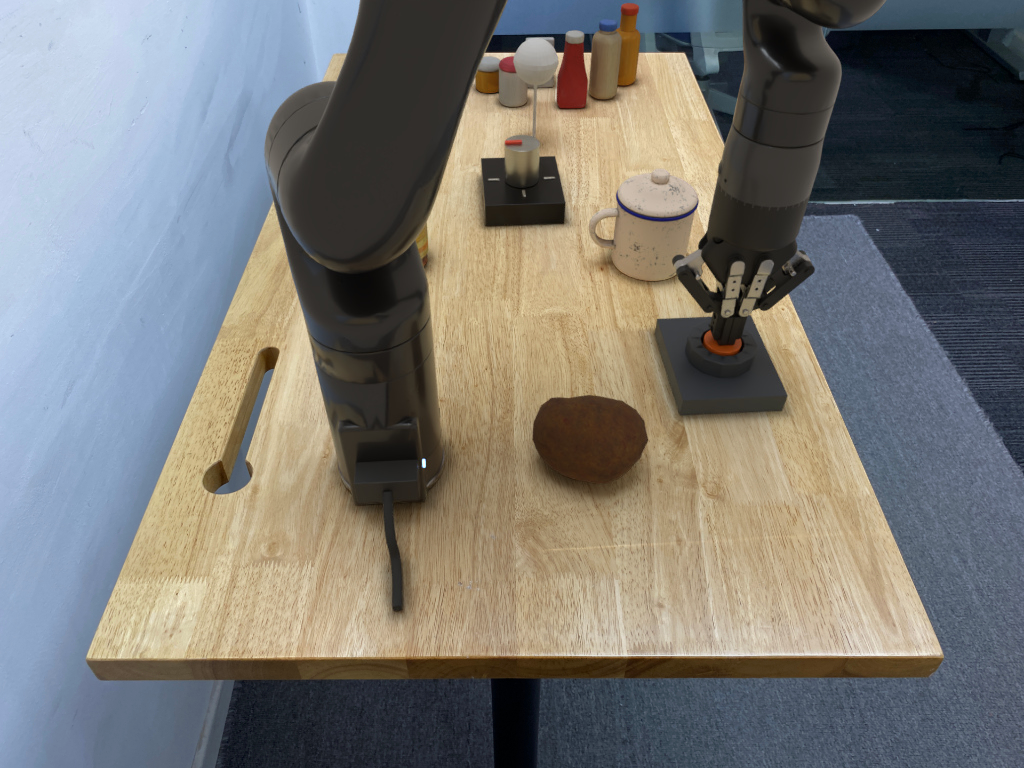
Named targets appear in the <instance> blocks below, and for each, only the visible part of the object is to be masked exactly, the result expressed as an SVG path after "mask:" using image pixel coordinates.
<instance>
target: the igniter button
mask: <svg viewBox="0 0 1024 768" xmlns="http://www.w3.org/2000/svg"><path fill="white" fill-rule="evenodd" d="M702 345H703V347H705V348H706V349H707V350H708V351H710V352H711V353H714V354H717V355H721V356H734V355H736V354H738V353H739V352H740V348H741V345H742V342H741V339H736V341H735V344H734V345H718V343H717V340H714V339H713V336H712V333H711V331H708V332H707V333H706V334H705V336H704V340H703V344H702Z"/></svg>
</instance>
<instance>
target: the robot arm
mask: <svg viewBox="0 0 1024 768" xmlns="http://www.w3.org/2000/svg"><path fill="white" fill-rule="evenodd" d="M508 2H509V0H359V4H358V10H357V14H356V19H355V20H356V21H355V24H354V28H353V31H352V35H351V38H350V42H349V46H348V48H347V52H346V54H345V58H344V60H343V63H342V65H341V68H340V71H339V73H338V75H337V78H336V80H326V81H319V82H314V83H311V84H308V85H306V86H304V87H301V88H300V89H298V90H296V91H295V92H292V93H291V95H289V96H287V98H286V99H285V100H284V101H283V102H282V103H281V104H280V105H279V106H278V108H277V109H276V111H275V112H274V114H273V116H272V117H271V119H270V122H269V123H268V127H267V130H266V132H265V137H264V147H263V156H264V157H263V159H264V165H265V171H266V176H267V181H268V185H269V189H270V192H271V193H270V194H271V198H272V201H273V206H274V208H275V209H274V210H275V213H276V217H277V221H278V225H279V228H280V233H281V237H282V241H283V245H284V248H285V253H286V258H287V263H288V267H289V269H290V273H291V277H292V280H293V284H294V287H295V291H296V294H297V298H298V301H299V305H300V307H301V312H302V315H303V320H304V324H305V328H306V332H307V336H308V340H309V345H310V349H311V353H312V358H313V362H314V367H315V370H316V376H317V379H318V384H319V389H320V392H321V396H322V401H323V405H324V409H325V414H326V417H327V421H328V425H329V431H330V434H331V438H332V443H333V447H334V450H335V451H334V452H335V454H336V455H335V456H336V459H337V468H338V472H339V476H340V479H341V481H342V483H343V485H344V486H345V488H346V489H347V491H349V492H350V493H351V496H352V501H353V505H355V506H361V505H362V506H364V505H381V504H382V512H383V513H382V514H383V515H382V517H383V526H384V528H383V529H384V537H385V542H386V546H387V550H388V554H389V560H390V567H391V589H392V590H391V609H392V611H394V612H400V611H402V610H404V609H403V608H404V601H403V598H404V597H403V568H402V559H401V552H400V549H399V545H398V541H397V535H396V525H395V515H394V514H395V511H394V504H401V503H403V504H404V503H419V502H420V503H421V502H426V501H427V499H428V497H427V496H428V491H429V490H430V489H431V488H432V487H433V486H434V485H435V484H436V483H437V482H438V480H440V477H441V475H442V473H443V471H444V469H445V464H446V453H445V446H444V444H443V433H442V423H441V408H440V404H439V403H440V402H439V401H440V400H439V391H438V390H439V388H438V379H437V368H436V366H437V365H436V357H435V356H436V355H435V345H434V332H433V321H432V309H431V297H430V288H429V287H430V286H429V280H428V276H427V272H426V269H425V266H423V263H422V260H421V257H420V254H419V250H418V247H417V243H416V239H417V237H418V236H419V234H420V233H421V231H422V230H423V228H424V226H425V224H426V222H427V223H428V220H429V219H430V216H431V213H432V211H433V208H434V205H435V203H436V200H437V197H438V195H439V191H440V188H441V185H442V181H443V178H444V175H445V171H446V168H447V166H448V162H449V158H450V155H451V153H452V149H453V147H454V143H455V140H456V136H457V133H458V130H459V127H460V124H461V120H462V117H463V114H464V112H465V107H466V104H467V102H468V100H469V96H470V93H471V91H472V88H473V84H474V81H475V76H476V74H477V71H478V68H479V66H480V63H481V61H482V59H483V57H485V54H486V51H487V49H488V47H489V45H490V42H491V40H492V38H493V36H494V33H495V31H496V29H497V27H498V25H499V22H500V20H501V18H502V16H503V13H504V11H505V8H506V6H507V4H508ZM741 2H742V3H741V4H742V5H741V7H742V8H741V10H742V11H741V13H742V48H743V72H742V77H741V81H740V85H739V89H738V95H737V100H736V103H735V108H734V113H733V118H732V122H731V126H730V129H729V131H728V134H727V137H726V139H725V143H724V146H723V150H722V154H721V160H720V161H719V163H718V165H717V178H716V184H715V188H714V193H713V197H712V203H711V207H710V211H709V216H708V222H707V229H706V232H705V234H703V236H702V237H701V239H699V241H698V246H697V249H696V250H695V251H693V252H691V253H690V254H688V255H686V257H684V256H683V255H676V256H675V257H674V258H673V259H672V263H673V266H674V269H675V271H676V274H677V275H676V277H677V280H678V281H679V282H680V284H681V285H682V286H683V288H685V290H686V291H687V293H689V295H690V296H691V297H692V299H694V301H695V302H696V304H697V305H698V306H699V307H700V309H701V310H702V311H703V312H704V313H706V314H712V315H711V317H712V319H711V323H710V331H711V333H712V336H713V339H714V340H717V343H718V345H734V344H735V341H736V339H740V337H741V336H742V334H743V330H744V327H745V323H746V320H747V316H749V315H751V314H752V312H753V311H756V310H759V311H761V312H766V311H769V310H771V309H772V308H773V307H774V306H775V305H777V304H778V303H779V302H780V301H782V300H783V299H784V298H785V297H786V296H787V295H789V294H790V293H791V292H792V291H794V290H795V289H796V288H797V287H798V286H800V285H801V284H802V283H803V282H805V281H806V280H807V279H808V278H810V277H811V276H812V275H813V274H814V273H815V271H816V268H815V267H814V264H813V262H812V260H811V259H810V257H809V255H808V254H807V253H806V252H805V250H803V249H799V250H798V243H797V237H798V236H799V233H800V230H801V226H802V224H803V220H804V217H805V213H806V210H807V207H808V205H809V204H808V203H809V201H810V198H811V194H812V190H813V187H814V184H815V181H816V177H817V174H818V171H819V169H820V164H821V159H822V154H823V153H822V152H823V146H824V141H825V138H826V133H827V130H828V126H829V123H830V120H831V116H832V113H833V110H834V107H835V104H836V100H837V97H838V94H839V90H840V86H841V82H842V75H843V72H842V71H843V70H842V64H841V63H842V62H841V61H840V59H839V57H838V56H837V54H836V53H835V52H834V50H833V49H832V48H831V46H830V45H829V44H828V41H826V40H827V39H826V38H825V35H824V31H823V28H826V29H831V30H844V29H850V28H853V27H856V26H858V25H860V24H862V23H864V22H866V21H867V20H869V19H870V18H872V17H873V16H875V14H876V13H877V12H878V11H879V10H880V9H881V8H882V7H883V6H884V5H885V3H886V2H887V0H742V1H741ZM704 264H705V266H706V267H707V269H709V271H710V273H711V274H712V276H713V277H714V279H715V290H714V291H712V290H711V289H710V288H709V286H708V285H707V284H706V283H705V281H704V280H703V279H702V275H703V273H704V271H703V268H702V266H703V265H704Z"/></svg>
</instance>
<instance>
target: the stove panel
mask: <svg viewBox="0 0 1024 768" xmlns="http://www.w3.org/2000/svg"><path fill="white" fill-rule="evenodd" d="M559 171H560V170H559V167H558V163H557V159H556V155H548V156H546V155H544V156H543V155H541V156H540V155H539V180H538V182H537V183H536V184H535V185H533V186H531V187H526V188H518V187H513V186H510V185H509V184H507V183H506V182H505V157H481V158H480V173H481V175H480V177H481V187H482V188H481V189H482V202H483V213H484V226H485V227H504V226H530V225H531V226H534V225H561V224H562V225H565V222H566V221H565V220H566V199H565V194H564V190H563V189H564V188H563V185H562V180H561V176H560V172H559Z"/></svg>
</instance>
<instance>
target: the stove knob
mask: <svg viewBox="0 0 1024 768" xmlns="http://www.w3.org/2000/svg"><path fill="white" fill-rule="evenodd" d="M503 146H504V158H505V182H506V183H507V184H509V185H510V186H513V187H518V188H526V187H531V186H533V185H535V184H536V183H537V182H538V180H539V157H540V152H541V151H540V150H541V143H540V140H539V138H537V137H536V138H535V137H533V135H529V134H515V135H512V136H509V137H507V138H506V139H505V140H504V145H503Z"/></svg>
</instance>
